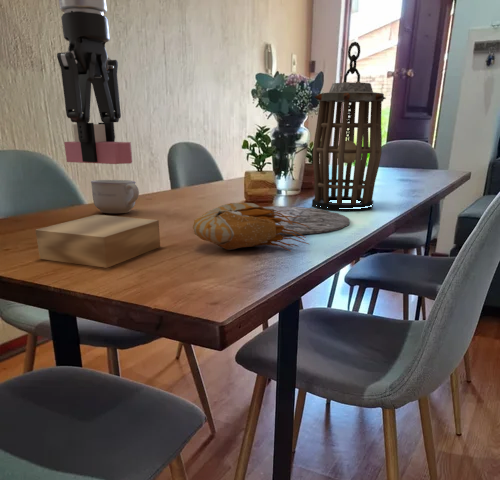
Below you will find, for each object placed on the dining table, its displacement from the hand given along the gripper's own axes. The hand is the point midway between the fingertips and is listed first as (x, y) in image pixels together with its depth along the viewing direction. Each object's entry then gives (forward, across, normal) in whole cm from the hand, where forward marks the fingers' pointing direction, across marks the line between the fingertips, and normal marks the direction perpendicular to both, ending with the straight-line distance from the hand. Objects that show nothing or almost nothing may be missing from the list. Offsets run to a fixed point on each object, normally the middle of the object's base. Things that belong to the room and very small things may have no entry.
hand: (99, 160), depth 94 cm
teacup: (+15, +27, +16) cm, 35 cm away
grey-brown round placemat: (+15, +34, -24) cm, 44 cm away
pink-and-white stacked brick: (0, 0, 0) cm, 0 cm away
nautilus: (+15, +5, -28) cm, 33 cm away
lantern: (+15, +61, -33) cm, 71 cm away
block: (+15, -8, -5) cm, 18 cm away
